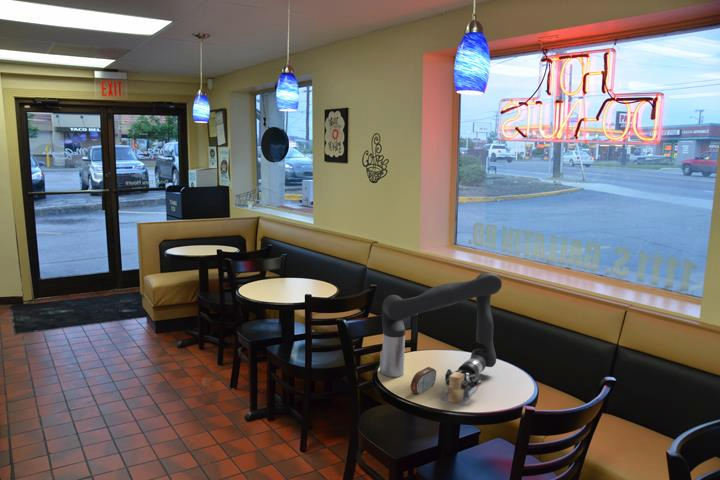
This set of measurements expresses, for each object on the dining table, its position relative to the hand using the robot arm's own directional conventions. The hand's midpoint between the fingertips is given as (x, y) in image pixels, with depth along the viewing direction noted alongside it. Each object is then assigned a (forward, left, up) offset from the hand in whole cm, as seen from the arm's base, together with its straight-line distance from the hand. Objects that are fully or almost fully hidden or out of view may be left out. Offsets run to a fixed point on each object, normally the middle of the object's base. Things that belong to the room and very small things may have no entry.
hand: (455, 385), depth 204 cm
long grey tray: (0, +10, -7) cm, 12 cm away
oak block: (0, +2, -6) cm, 7 cm away
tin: (-14, +4, -7) cm, 16 cm away
